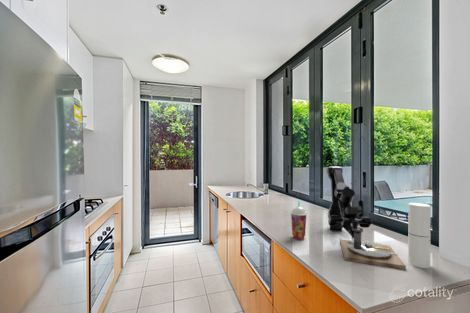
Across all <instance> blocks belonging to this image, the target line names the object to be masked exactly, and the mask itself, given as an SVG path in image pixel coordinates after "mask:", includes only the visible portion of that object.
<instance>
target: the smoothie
mask: <svg viewBox="0 0 470 313" xmlns="http://www.w3.org/2000/svg"><path fill="white" fill-rule="evenodd" d="M297 203H298V204H297V206H295V207H293V208H292V210H291V212H290V216H291V217H290V218H291V234H292V238H293V239H295V240H300V241H301V240H304V239H305V237H306V229H307V228H306V226H307V214H308V213H307V212H306V209H305V208H304V207H302V206H301V205H300V201H298V202H297Z"/></svg>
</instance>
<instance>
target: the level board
mask: <svg viewBox="0 0 470 313" xmlns="http://www.w3.org/2000/svg"><path fill="white" fill-rule="evenodd" d="M349 241H351V240H349V239H343V238H342V239H341V238H340V240H339V242H340V247H341V252H342V256H343V260H344V261H347V262H348V261H349V262H355V263H361V264H367V265H374V266H380V267H386V268H387V267H388V268H393V269H399V270H404V271H405V270H406V266H407V265H406V264H405V263H404V262H403V260H401V258H400V256H399V255H398V253H396V252H395V250H394V249H393V248H392V247H391V245H390V244H389V245H388V244H383V245H384V246H386V247H388V248H389V249H390V250H391V256H390V257H388V258H371V257H366V256H362V255H359V254H356V253H354V252H352V251H351V250H350V249H349V248H348V242H349Z"/></svg>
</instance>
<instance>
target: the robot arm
mask: <svg viewBox="0 0 470 313" xmlns="http://www.w3.org/2000/svg"><path fill="white" fill-rule="evenodd" d="M326 174H327V177H328V178H329V180H330V189H331V190H330V191H331V204H330V205H329V209H328V210H327V218H328V219H327V221H328V225H329V230H330V231H336V232H342V230H343V229H344V230H345V231H346V232H347V233H348V235H349V236H351V238H352V239H354V231H353V230H352V227H358V228H362V229H363V228H364V229H366V228H367V229H368V228H369V227H370V226H371V224H372V223H373V220H372V218H371V217H369V216H361V218H360V219H357V217H358V215H360V214H363V209H362V206H360V205H358V206H352V203H353V200H354V197H355V195H356V194H355V191H354V189H352V188H350V187H349V186H348V185H347V184H346V183H345V180H344V175H343V168H342V167H341V166H329V167H327V168H326Z"/></svg>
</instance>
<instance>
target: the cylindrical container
mask: <svg viewBox="0 0 470 313" xmlns="http://www.w3.org/2000/svg"><path fill="white" fill-rule="evenodd" d="M407 206H408V211H407V212H408V213H407V214H408V223H407V224H408V227H407V229H408V230H407V231H408V234H407V235H408V237H407V239H408V244H407V245H408V246H407V248H408V249H407V250H408V251H407V253H408V254H407V255H408V256H407V261H408V264H410V265H412V266H414V267H417V268H422V269H430V268H431V214H432V213H431V212H432V210H431V208H432V207H431V205H430V204H426V203H420V202H409V203H408V205H407Z"/></svg>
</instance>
